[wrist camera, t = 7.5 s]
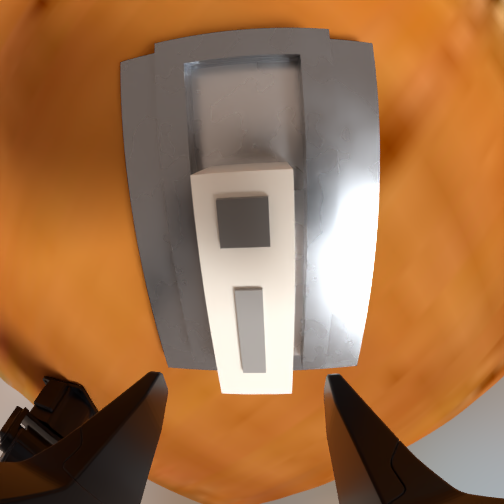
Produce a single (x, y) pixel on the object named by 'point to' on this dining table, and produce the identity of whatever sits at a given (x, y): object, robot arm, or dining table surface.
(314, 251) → the mount plate
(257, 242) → the white rectangular block
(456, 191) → the dining table surface
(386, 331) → the dining table surface
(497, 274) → the dining table surface
